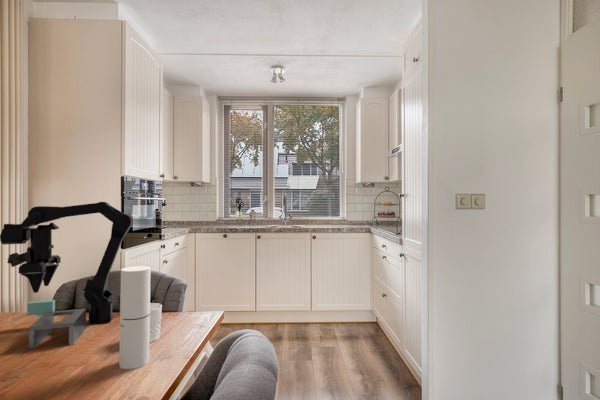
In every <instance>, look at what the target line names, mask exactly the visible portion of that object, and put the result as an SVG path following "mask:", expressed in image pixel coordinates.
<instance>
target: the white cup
mask: <svg viewBox="0 0 600 400" xmlns="http://www.w3.org/2000/svg"><path fill="white" fill-rule="evenodd" d="M162 312H163V304H161V303H159V302H158V303H155V302H150V339H149V343H151V342H152V343H153V342H155V341H157V340H159V338H160V337H161V326H162V325H161V324H162Z"/></svg>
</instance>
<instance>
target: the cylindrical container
mask: <svg viewBox="0 0 600 400" xmlns="http://www.w3.org/2000/svg"><path fill="white" fill-rule="evenodd" d="M151 268H152V267H150V266H147V265H146V266H145V265H137V266H135V265H134V266H127V267H123V268H121V269H120V296H119V297H120V302H119V303H120V305H119V306H120V307H119V361H118V363H119V364H118V365H119V368H120V369H122V370H134V369H139V368H143V367H145V366H146V365H147V364H149V362H150V342H149V339H150V303H151V270H152V269H151Z"/></svg>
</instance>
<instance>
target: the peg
mask: <svg viewBox="0 0 600 400" xmlns="http://www.w3.org/2000/svg"><path fill="white" fill-rule="evenodd" d="M26 307H27V313H26V315H27V316H36V319H37V320H38V319H39V318H40V317H42V316H43V315H44V314H45V313H46V312H52V311H56V299H44V300H30V301H29V302H28V303H27V306H26ZM37 320H36V321H37Z"/></svg>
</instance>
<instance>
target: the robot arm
mask: <svg viewBox="0 0 600 400" xmlns="http://www.w3.org/2000/svg"><path fill="white" fill-rule="evenodd" d="M91 214H101V215H102V216H104V217H105V218H106V220H109V221H110V222H111V223H112V224H111V225H112V226H111V234H110V238H109V240H108V243H107V246H106V248H105V250H104V254H103V255H102V259H101V261H100V263H99V266H98V269H97V271H96V273H95V275H91V276H90V277H89V278H87V281H86V282H85V283H86V285H85V286H84V287H85V288H84V289H82V292H83V297H84V298H85V300H86V301H87V302H89V304H90V305H89V306H90V308H89V309H88V325H96V324H107V323H111V322H112V320H113V318H114V315H113V301H111V300H112V299H113V296H114V294H113V292H111V291H110V290H109V289H108V283H109V277H110V276H109V275H110V272H111V271H112V268H113V265H114V263H115V259H117V258H116V257H117V255H118V253H119V250H120V246H122V245H121V244H122V242H123V240H124V238H125V237H126V235H127V233H128V232H129V230H131V227H132V225H133V224H134V218H133V216H132V215H131V214H129V213H126V212H125V213H123V212H122V211H120V210H119V209H117V208H115V207H114V206H112V205H111V204H109V203H108V202H107V201H99V202H93V203H87V204H86V203H85V204H84V203H83V204H78V205H77V204H76V205H75V204H74V205H68V206H51V205H50V206H49V205H47V206H45V205H43V206H42V205H41V206H34V207H33V206H32V207H31V208H30V209H29V211H28V213H27V216H26V218H25V219H24V220H23V221H22V222H21V223H18V224H17V223H4V224H3V228H2V230H1V232H0V243H1V244H2V245H5V246H6V245H23V244H24V245H25V244H26V243H27V241H30V246H28V247H27V248H26V251H24V252H23V253H18V252H14V253H13V252H12V253H11V254H8V258H7V262H6V263H7V264H10V266H11V268H13V267H16V266H18V274H20V275H21V276H24V277H25V278H27V280H28V282H29V283H30V287H31V289H32V292H33V293H34V294H36V293H39V290H40V289H41V286H42V283H43V285H44V287H48V286H49V285H50V283H51V282H52V279H53V277H54V275H55V273H56V270H57V269H58V267H59V266H60V264H61V262H62V261H61V256H59V255H57V254H55V255H54V254H53V255H52V251H53V250H52V249H54V248H55V247H54V244H53V243H52V239H53V237H52V231H53V230H54V231H55V230H58V229H60V227H59V226H58V225H57V224H55V223H54V222H52V221H56V220H61V219H63V218H68V217H74V216H75V217H76V216H84V215H91ZM45 223H49V224H45ZM34 226H37V227H34ZM30 227H31V228H30Z"/></svg>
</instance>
